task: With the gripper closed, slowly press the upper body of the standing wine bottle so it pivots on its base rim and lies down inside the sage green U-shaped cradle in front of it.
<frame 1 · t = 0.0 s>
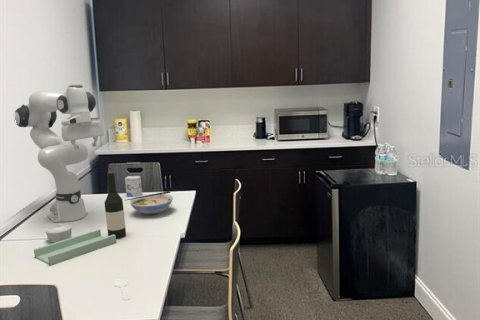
hand: (85, 148, 226), 39 cm above the table, tool pointing down, fingers open, 8 cm apart
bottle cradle: (76, 249, 202), on the table
wine bottle: (117, 236, 217), on the table
ramekin: (60, 240, 216), on the table
spoon: (123, 290, 163), on the table
ink box: (134, 196, 287), on the table
ramen bowl: (152, 213, 250), on the table
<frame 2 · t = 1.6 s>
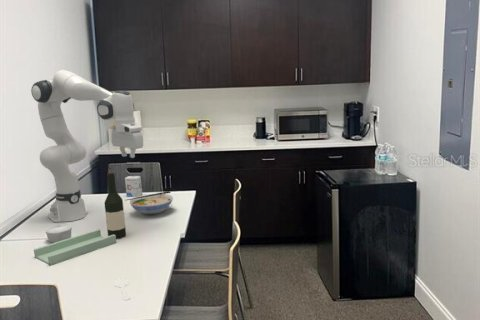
hand: (128, 156, 217), 35 cm above the table, tool pointing down, fingers open, 5 cm apart
nothing on the table moved.
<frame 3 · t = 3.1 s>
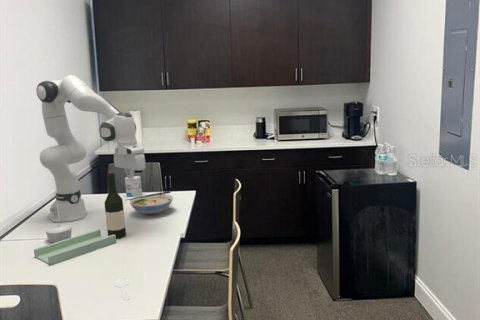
hand: (130, 178, 219), 25 cm above the table, tool pointing down, fingers closed
nothing on the table moved.
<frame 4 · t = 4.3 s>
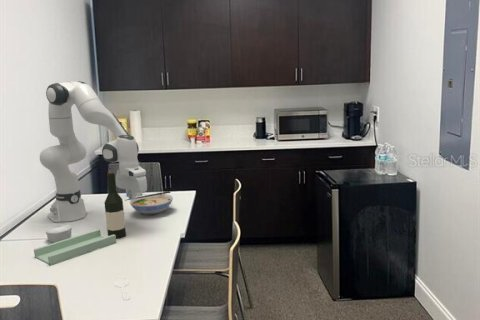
hand: (132, 199, 221), 15 cm above the table, tool pointing down, fingers closed
nothing on the table moved.
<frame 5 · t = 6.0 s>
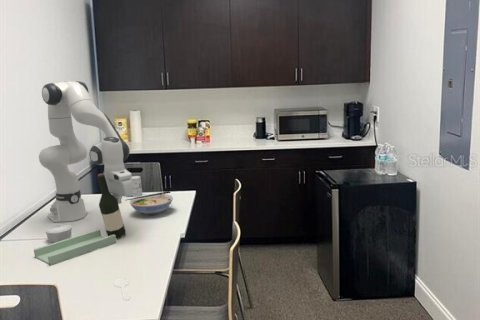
hand: (118, 203, 215), 15 cm above the table, tool pointing down, fingers closed
wine bottle: (117, 235, 216), point 1 cm above the table, touching gripper
everything else where it was.
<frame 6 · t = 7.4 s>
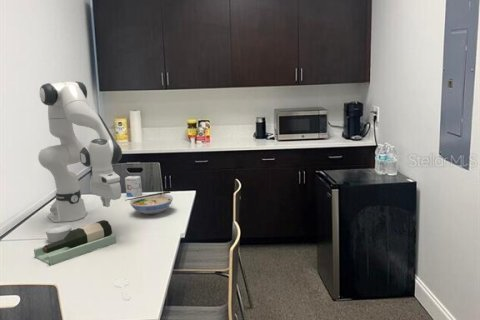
hand: (106, 206, 211), 15 cm above the table, tool pointing down, fingers closed
wine bottle: (106, 228, 214), point 4 cm above the table, touching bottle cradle
everything else where it was.
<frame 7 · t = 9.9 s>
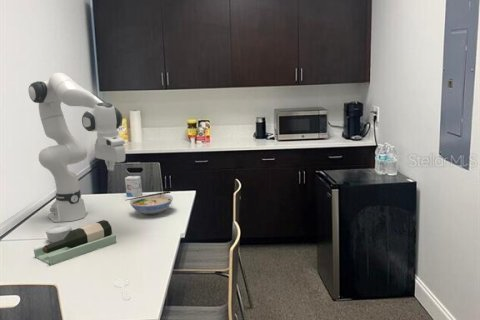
hand: (110, 170, 213), 30 cm above the table, tool pointing down, fingers closed
nothing on the table moved.
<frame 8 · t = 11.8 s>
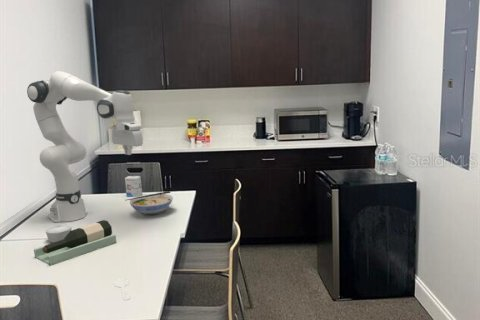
hand: (128, 154, 224), 35 cm above the table, tool pointing down, fingers closed
nothing on the table moved.
at the end: wine bottle tilted 90°; wine bottle touching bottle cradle; wine bottle 16.3 cm from the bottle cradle (horizontally) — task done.
